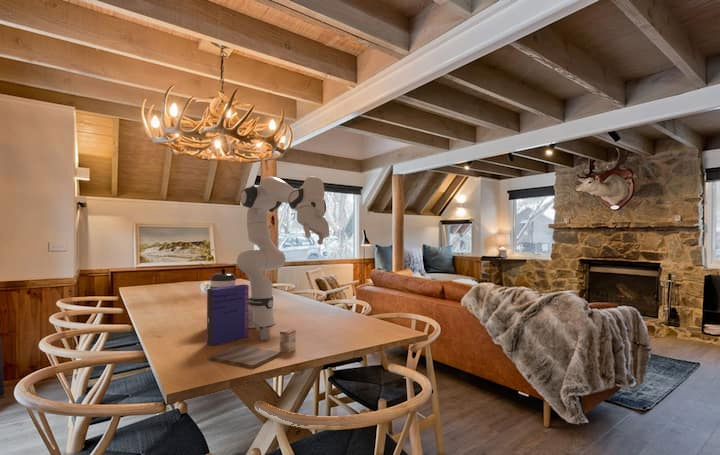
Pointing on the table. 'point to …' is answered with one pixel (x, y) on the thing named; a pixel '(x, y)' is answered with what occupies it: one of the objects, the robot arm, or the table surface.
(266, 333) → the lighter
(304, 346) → the table surface
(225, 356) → the walnut board
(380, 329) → the table surface
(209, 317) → the cereal box
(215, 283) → the coffee press
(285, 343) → the birch block
